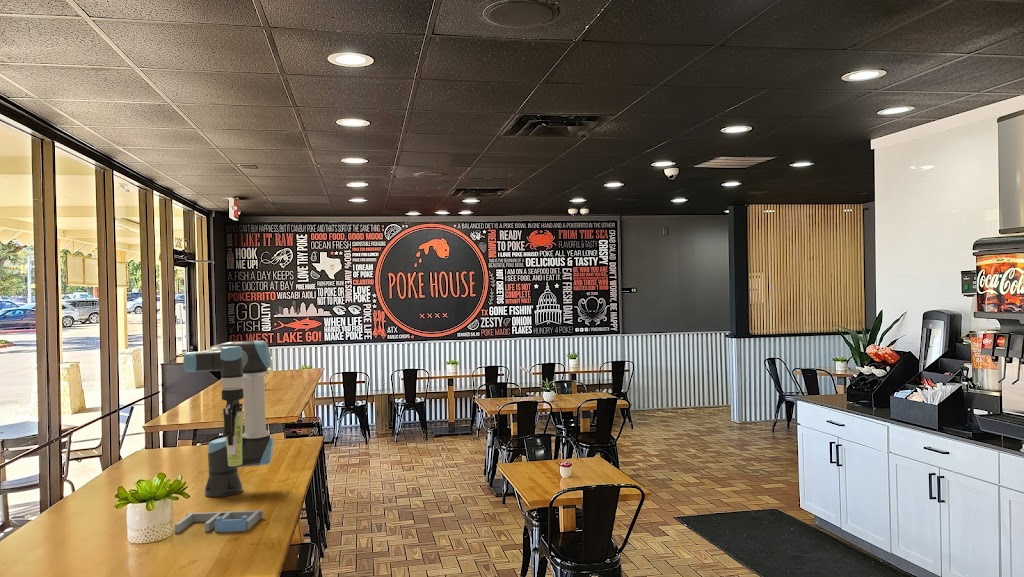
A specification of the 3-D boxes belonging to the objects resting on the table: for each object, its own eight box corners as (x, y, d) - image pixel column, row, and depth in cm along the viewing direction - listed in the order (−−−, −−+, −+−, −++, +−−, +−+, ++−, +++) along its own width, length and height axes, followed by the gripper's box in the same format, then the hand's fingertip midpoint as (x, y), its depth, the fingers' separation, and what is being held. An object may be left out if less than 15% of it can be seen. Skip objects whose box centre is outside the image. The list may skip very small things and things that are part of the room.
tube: (232, 467, 269) (231, 413, 269) (223, 466, 271) (221, 412, 271) (245, 464, 273) (244, 411, 274) (236, 463, 276) (234, 410, 276)
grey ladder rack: (188, 521, 280) (187, 508, 280) (263, 518, 281) (262, 505, 281) (170, 533, 265) (170, 520, 265) (250, 530, 266) (250, 517, 266)
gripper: (230, 386, 281) (232, 447, 281) (212, 392, 264) (214, 458, 264) (250, 385, 282) (252, 447, 281) (234, 391, 264) (236, 457, 264)
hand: (234, 452), depth 272 cm, fingers closed on tube, 5 cm apart
